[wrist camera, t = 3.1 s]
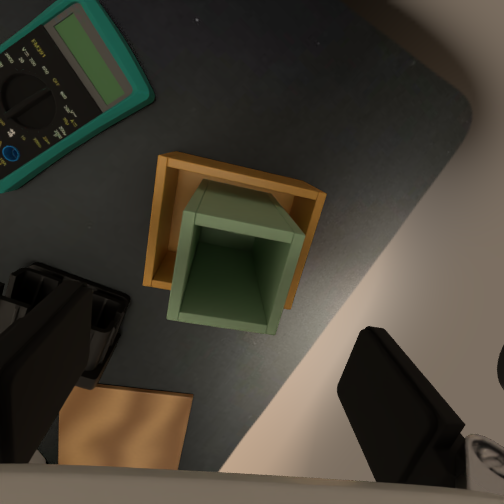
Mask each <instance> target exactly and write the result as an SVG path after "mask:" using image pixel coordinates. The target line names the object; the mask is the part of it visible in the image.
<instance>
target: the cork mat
mask: <svg viewBox="0 0 504 504" xmlns="http://www.w3.org/2000/svg"><path fill="white" fill-rule="evenodd" d="M192 400H193V394H184V393H175V392H166V391H157V390H148V389H139V388H130V387H121V386H113V385H104V384H97V385H96V386H95V388H94V389H92V390H87V389H84V388H80V387H77V386H74V388H73V390H72V391H71V393H70V395H69V396H68V398H67V400H66V401H65V403H64V405H63V406H62V408H61V410H60V411H59V454H58V464H59V465H87V466H112V467H130V468H149V469H168V470H178V466H179V461H180V456H181V452H182V447H183V442H184V437H185V433H186V428H187V423H188V419H189V414H190V409H191V404H192Z"/></svg>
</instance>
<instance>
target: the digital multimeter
mask: <svg viewBox="0 0 504 504" xmlns="http://www.w3.org/2000/svg"><path fill="white" fill-rule="evenodd" d="M154 99H155V94H154V91H153V89H152V87H151V86H150V84H149V82H148V80H147V78H146V76H145V74H144V72H143V70H142V68H141V66H140V65H139V63H138V61H137V59H136V57H135V56H134V54H133V52H132V51H131V49H130V47H129V46H128V44H127V42H126V41H125V39H124V37H123V36H122V34H121V33H120V31H119V30H118V28H117V27H116V25H115V24H114V22H113V21H112V20H111V18H110V17H109V15H108V14H107V12H106V11H105V10H104V8H103V7H102V5H101V4H100V2H99V1H98V0H57V1H55V2H54V3H53V4H52V5H51V6H49V7H48V8H47V9H46V10H45V11H43V12H42V13H41V14H40V15H39V16H37V17H36V18H35V19H34V20H33V21H31V22H30V23H29V24H28V25H26V26H25V27H24V28H23V29H21V30H20V31H19V32H17V33H16V34H15V35H13V36H12V37H11V38H9V39H8V40H7V41H5V42H4V43H3V44H1V45H0V193H5V192H9V191H13V190H17V189H19V188H20V187H21V186H23V185H24V184H25V183H27V182H28V181H29V180H31V179H32V178H33V177H35V176H36V175H37V174H39V173H40V172H41V171H43V170H44V169H46V168H47V167H49V166H50V165H52V164H53V163H54V162H56V161H57V160H59V159H60V158H62V157H63V156H64V155H66V154H67V153H69V152H70V151H72V150H73V149H75V148H76V147H78V146H79V145H81V144H83V143H84V142H86V141H87V140H89V139H91V138H92V137H94V136H95V135H97V134H99V133H100V132H102V131H103V130H105V129H107V128H108V127H110V126H112V125H113V124H115V123H117V122H119V121H120V120H122V119H124V118H126V117H127V116H129V115H131V114H133V113H134V112H136V111H138V110H140V109H141V108H143V107H145V106H147V105H148V104H150V103H152V102H153V101H154Z"/></svg>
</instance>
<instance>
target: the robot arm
mask: <svg viewBox="0 0 504 504" xmlns="http://www.w3.org/2000/svg"><path fill="white" fill-rule="evenodd" d="M92 298H93V290H92V288H88V287H87V283H86V282H79V281H73V280H65V281H63V282H62V283H61V284H60V285H59V286H58V287H56V288H55V289H54V290H53V291H52V292H51V293H50V294H49V295H48V296H46V297H45V298H44V299H43V300H42V301H41V302H40V303H39V304H37V305H36V306H35V307H34V308H33V309H32V310H31V311H30V312H29V313H27V314H26V315H25V316H24V317H22V318H19V319H17V320H16V321H15V322H13V323H12V324H11V325H10V326H9V327H8V328H7V329H5V330H4V331H3V332H2V333H1V334H0V504H504V447H503V446H501V445H499V444H498V443H496V442H495V441H493V440H491V439H489V438H487V437H485V436H481V435H478V434H470V435H468V436H467V437H466V438H464V437H463V436H462V435H461V434H460V432H461V431H462V429H463V428H464V426H465V424H464V422H463V421H462V420H461V419H460V418H459V416H458V415H457V414H456V413H455V412H454V411H453V409H452V408H451V407H450V406H449V405H448V403H447V402H446V401H445V400H444V399H443V398H442V397H441V395H440V394H439V393H438V392H437V390H436V389H435V388H434V387H433V386H432V385H431V383H430V382H429V381H428V380H427V379H426V377H425V376H424V375H423V374H422V373H421V372H420V371H419V369H418V368H417V367H416V366H415V364H414V363H413V362H412V361H411V360H410V358H409V357H408V356H407V355H406V354H405V352H404V351H403V350H402V349H401V348H400V347H399V345H397V343H396V342H395V341H394V339H393V338H392V337H391V336H390V335H389V334H388V333H387V331H386V330H385V329H383V328H377V327H370V326H368V327H366V328H365V329H363V330H361V331H360V333H359V335H358V338H357V340H356V343H355V345H354V347H353V350H352V352H351V354H350V357H349V359H348V362H347V364H346V366H345V369H344V371H343V374H342V376H341V378H340V381H339V383H338V386H337V393H338V397H339V399H340V401H341V403H342V406H343V408H344V410H345V413H346V415H347V417H348V419H349V422H350V424H351V426H352V428H353V431H354V433H355V435H356V437H357V440H358V442H359V444H360V446H361V449H362V451H363V453H364V455H365V457H366V460H367V462H368V464H369V467H370V469H371V471H372V473H373V476H374V478H375V480H376V482H368V481H353V480H351V481H350V480H337V479H321V478H306V477H305V478H304V477H288V476H272V475H255V474H239V473H222V472H205V471H186V470H168V469H149V468H130V467H112V466H87V465H59V464H31V463H29V461H30V460H31V458H32V456H33V455H34V453H35V451H36V450H37V448H38V446H39V445H40V443H41V441H42V440H43V438H44V436H45V435H46V433H47V431H48V430H49V428H50V426H51V425H52V423H53V421H54V420H55V418H56V416H57V415H58V413H59V411H60V410H61V408H62V406H63V405H64V403H65V401H66V400H67V398H68V396H69V395H70V393H71V391H72V390H73V388H74V386H75V385H76V383H77V381H78V380H79V378H80V376H81V375H82V373H83V371H84V370H85V368H86V366H87V363H88V360H89V352H90V334H91V316H92Z"/></svg>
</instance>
